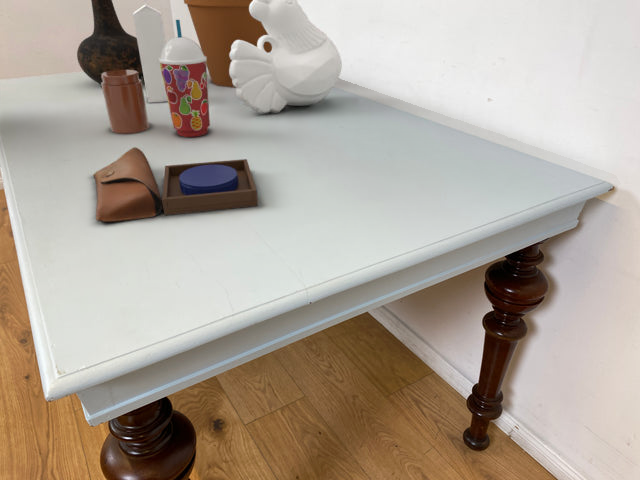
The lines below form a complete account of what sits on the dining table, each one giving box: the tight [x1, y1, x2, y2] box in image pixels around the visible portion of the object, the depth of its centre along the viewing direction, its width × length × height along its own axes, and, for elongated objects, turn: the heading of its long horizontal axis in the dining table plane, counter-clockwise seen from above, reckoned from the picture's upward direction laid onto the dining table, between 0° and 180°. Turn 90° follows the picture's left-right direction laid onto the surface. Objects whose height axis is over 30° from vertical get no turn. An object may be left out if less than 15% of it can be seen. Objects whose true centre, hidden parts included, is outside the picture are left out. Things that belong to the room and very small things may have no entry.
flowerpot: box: [183, 0, 272, 88], centre depth 129 cm, size 28×28×24 cm
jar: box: [100, 70, 150, 135], centre depth 93 cm, size 7×7×11 cm
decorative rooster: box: [229, 0, 343, 115], centre depth 105 cm, size 25×16×25 cm
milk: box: [132, 0, 168, 104], centre depth 110 cm, size 6×6×22 cm
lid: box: [179, 165, 239, 195], centre depth 68 cm, size 8×8×2 cm
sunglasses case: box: [93, 146, 163, 223], centre depth 68 cm, size 18×7×7 cm
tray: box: [161, 158, 259, 216], centre depth 68 cm, size 12×12×2 cm
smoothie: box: [159, 19, 211, 138], centre depth 88 cm, size 8×8×20 cm
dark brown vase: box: [76, 0, 144, 85], centre depth 125 cm, size 18×18×28 cm
